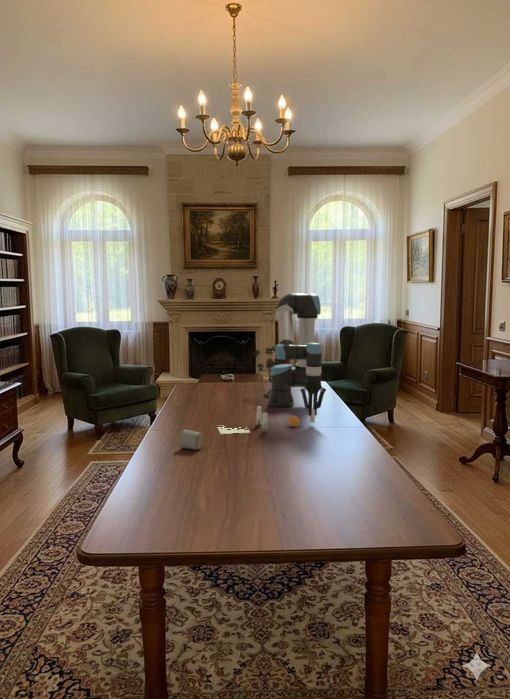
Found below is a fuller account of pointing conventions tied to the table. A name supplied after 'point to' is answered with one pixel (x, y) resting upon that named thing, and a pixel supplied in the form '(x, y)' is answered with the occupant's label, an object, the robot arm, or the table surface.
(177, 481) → the table surface
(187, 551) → the table surface
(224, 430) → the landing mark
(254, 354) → the bonsai tree
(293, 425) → the ball
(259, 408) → the post
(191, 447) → the grey cylinder
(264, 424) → the post
